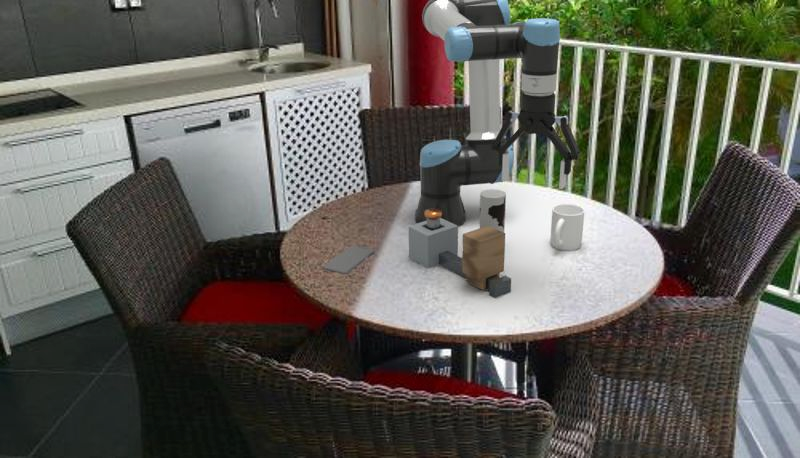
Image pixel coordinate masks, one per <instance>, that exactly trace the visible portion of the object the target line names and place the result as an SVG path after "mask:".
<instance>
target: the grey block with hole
mask: <svg viewBox="0 0 800 458" xmlns="http://www.w3.org/2000/svg"><path fill="white" fill-rule="evenodd" d="M407 228H408V253H409V254H408V258H409V259H410V260H413V261H414V262H416V263H418V264H420V265H421V266H424V267H425V268H427V269H430V268H432V267H435V266H438V265H439V254H440V253H443V252H445V251H449V252H451V253H453V254H455V255H457V256H459V226H457V225H455V224H453V223H451V222H448V221H446V220H444V219H442V218H440V228H439V229H436V230H433V231H431V230H429V229H427V221H424V222H421V223H415V224H412V225H408V227H407Z"/></svg>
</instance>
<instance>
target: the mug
mask: <svg viewBox="0 0 800 458" xmlns="http://www.w3.org/2000/svg"><path fill="white" fill-rule="evenodd" d="M584 220H585V208H584V207H582V206H581V205H577V204H571V203H562V204H561V203H560V204H556V205H554V206H553V207H552V212H551V227H550V228H551V229H550V244H551V246H552V247H553V248H555V249H558V250H561V251H576V250H577V249H580V247H582V244H583V243H582V242H583V231H584V224H585V223H584Z"/></svg>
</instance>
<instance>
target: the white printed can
mask: <svg viewBox="0 0 800 458" xmlns="http://www.w3.org/2000/svg"><path fill="white" fill-rule="evenodd" d="M506 196H507V194H506V192H505V191H503V190H500V189H495V188H493V189H492V188H491V189H484V190H482V191H481V192H480V193H479V197H480V198H479V228H482V227H485V226H490V227H492V228H495V229H497V230H499V231H501V232H504V233H505V228H506V227H505V224H506V204H507V203H506V198H507V197H506Z"/></svg>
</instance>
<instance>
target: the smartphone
mask: <svg viewBox="0 0 800 458" xmlns="http://www.w3.org/2000/svg"><path fill="white" fill-rule="evenodd" d="M373 254H375V250H374V249H373V248H368V247H363V246H359V245H354V244H352V245H350V246H349V247H348V248H346V249H344V250H343V251H342V252H340V253H339V254H337V255H336V256H335V257H334V258H332V259H331V260H330V261H328V262H327V263H325V264H324V265H323V266H322V267H321V268H322V270H325V271H329V272H334V273H337V274H341V275H347V274H349V273H350V272H351V271H352V270H354V269H355V268H356V267H357V266H359V265H361V263H363V262H364V261H366V260H367V259H368V258H369V257H371V256H372V255H373Z"/></svg>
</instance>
